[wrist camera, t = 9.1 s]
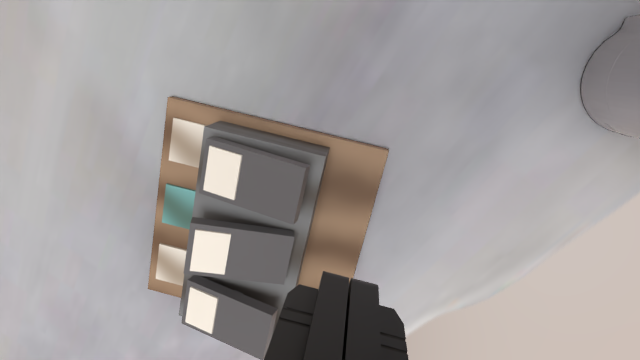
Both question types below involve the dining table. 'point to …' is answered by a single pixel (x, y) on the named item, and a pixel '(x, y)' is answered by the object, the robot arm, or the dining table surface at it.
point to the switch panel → (332, 203)
